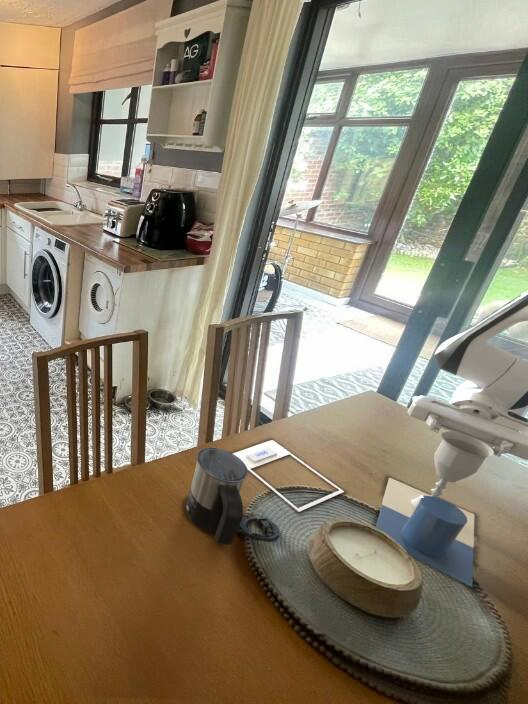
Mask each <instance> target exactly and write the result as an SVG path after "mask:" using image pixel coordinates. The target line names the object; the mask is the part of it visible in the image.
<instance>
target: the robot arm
mask: <svg viewBox="0 0 528 704" xmlns="http://www.w3.org/2000/svg"><path fill="white" fill-rule="evenodd" d="M523 322H528V290H527V291H525V292H523V293H521V294H520V295H518V296H517V297H515V298H513V299H512V300H511V299H510V300H509V301H508V302H507V303H505V304H504V305H502V306H500V307H499V308H497V309H496V310H494V311H493V312H491V313H489V314H488V315H486V316H485V317H484V318H482V319H480V320H479V321H477V322H476V323H474V324H472V325H471V326H469V327H468V328H466V329H464V330H463V331H461V332H460V333H457V334H456V335H454V336H452V337H450V338H448V339H446V340H444V341H443V342H442V343H440V345H439V346H438V347H437V348H436V350H435V352H434V353H433V357H434V361H435V363H436V365H437V366H438V368H439V370H442V371H444V372H447V373H449V374H451V375H454V376H458V377H459V378H462V379H464V380H465V381H463V382H461V383H460V384H459V385H458V386H457V388H456V389H455V390H454V392H453V393H452V395H451V399H450V400H449V402H447V401H444V400H441V399H438V398H435V397H432V396H429V395H420V396H419V395H415V396H413V397H412V400H411V401H412V402H411V404H410V406H409V408H408V410H407V414H408V415H409V416H410V417H412V418H414V419H417V420H419V421H421V422H425V423H426V425H428V426H429V430H430V431H432V432H435V433H439V432H440V430H441V429H443V430H445V431H447V432H457V433H461V434H465V435H468V436H471V437H474V438H476V439H478V440H480V441H482V442H484V443H485V444H487V445H488V446H489V447H490V448H492V450H493V452H494V453H493V455H494V456H497V457H501V455H505V454H508V455H511V456H514V457H516V458H519V459H522V460H525V461H528V418H526V417H524V416H522V415H519V414H517V413H515V412H513V411H512V410H520V409H524V408H526V407H527V406H528V360H527V359H524V358H522V357H521V356H518V355H515V354H513V353H511V352H508V351H506V350H504V349H502V348H499V347H498V346H495V345H492V344H491V343H490V342H489V341H490V340H491V339H493V338H495V337H496V336H498V335H500V334H501V333H503V332H505V331H506V330H509V329H510V328H512V327H513V326H515V325H517V324H519V323H523Z"/></svg>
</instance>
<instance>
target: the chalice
mask: <svg viewBox="0 0 528 704" xmlns="http://www.w3.org/2000/svg"><path fill="white" fill-rule="evenodd" d="M441 439H442V440H441V442H440V444H439V445H438V447H437V449H436V450H435V453H434V454H433V456H434V457H433V458H434V467H435V472H436V476H437V477H439V478H440V480H439V481H438V482H435V488H431V489H430V491H431V494H430V495H431V496H433V497H437V498H440V497H441V496H444V493H443V490H445V489H447V483H448V482H449V483H456V482H458V481H461V480H464V479H467V478H469V477H471V476H472V475H474V474H476V473H477V472H478V471H479V469H480V468H481V466H482V464H483V463H484V461H485V460H486V459H487V458H488V457H491V456H493V455H494V454H493V453H494V452H493V450H492V447H490V446H488V445H487V444H485V443H484V442H482V441H480V440H478V439H476V438H474V437H471V436H468V435H465V434H461V433H457V432H451V431H443V432H442V433H441ZM424 496H426V495H424ZM424 496H419V497H417V498H416V499H413V500H412V501H411V504H412V506H413V507H414V508H415V507H416V506H417V504H418V502H419V501H420V499H421V498H422V497H424Z"/></svg>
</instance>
